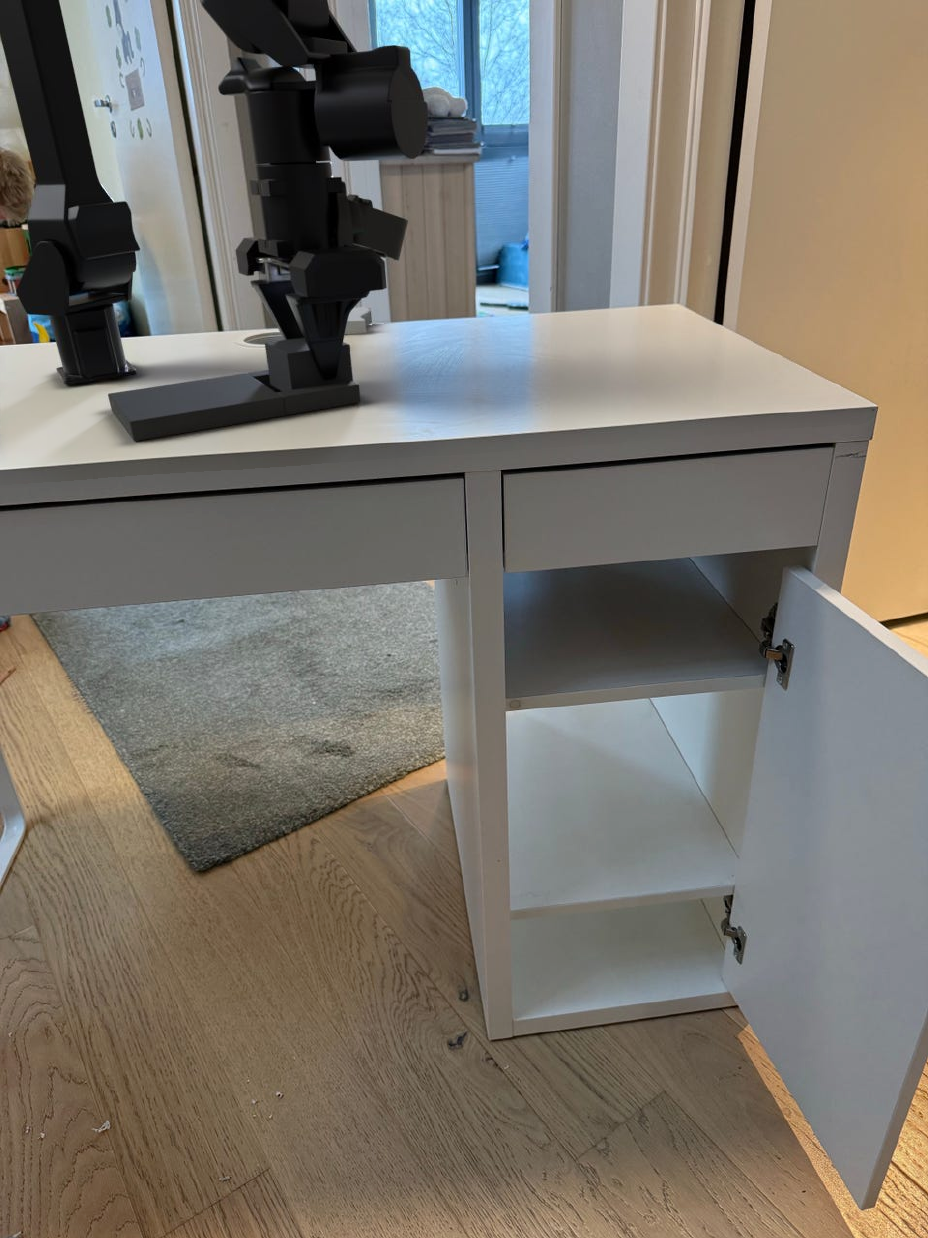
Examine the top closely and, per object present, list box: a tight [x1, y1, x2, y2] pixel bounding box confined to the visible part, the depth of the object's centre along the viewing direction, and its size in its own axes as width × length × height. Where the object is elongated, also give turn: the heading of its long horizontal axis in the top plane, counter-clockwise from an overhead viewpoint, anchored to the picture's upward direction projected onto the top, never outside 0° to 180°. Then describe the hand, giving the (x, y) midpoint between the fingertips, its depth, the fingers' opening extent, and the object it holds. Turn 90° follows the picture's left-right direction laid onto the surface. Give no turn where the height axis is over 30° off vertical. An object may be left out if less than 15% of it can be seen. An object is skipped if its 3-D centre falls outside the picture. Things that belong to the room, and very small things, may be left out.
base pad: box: [107, 369, 362, 442], centre depth 70 cm, size 10×18×2 cm, turn 119°
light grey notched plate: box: [345, 306, 373, 335], centre depth 100 cm, size 6×1×10 cm
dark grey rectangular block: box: [264, 337, 354, 392], centre depth 72 cm, size 5×5×4 cm
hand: (317, 372), depth 72 cm, fingers closed on dark grey rectangular block, 5 cm apart
